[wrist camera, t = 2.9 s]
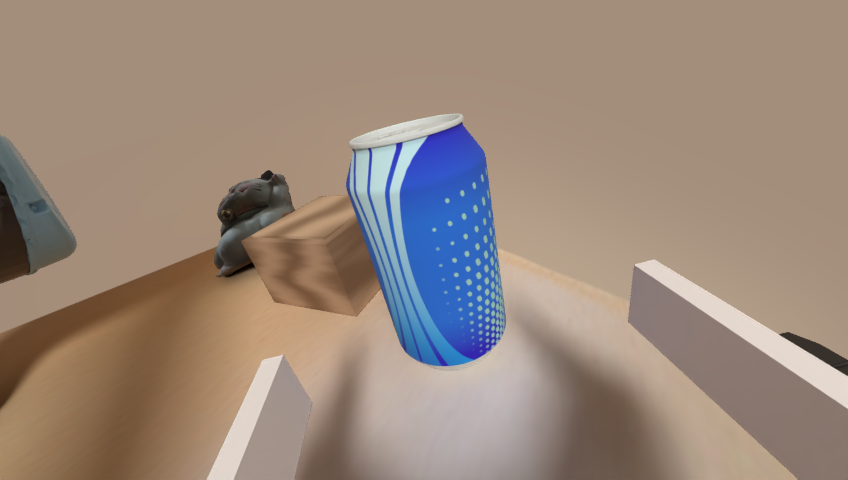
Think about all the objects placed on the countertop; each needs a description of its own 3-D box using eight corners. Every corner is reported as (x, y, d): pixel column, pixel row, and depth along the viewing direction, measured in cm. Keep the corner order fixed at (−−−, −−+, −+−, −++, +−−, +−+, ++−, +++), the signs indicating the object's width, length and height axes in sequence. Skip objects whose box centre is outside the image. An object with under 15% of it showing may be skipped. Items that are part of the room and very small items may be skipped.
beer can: (434, 293, 29) (391, 122, 22) (521, 310, 25) (501, 102, 18) (381, 358, 24) (300, 154, 16) (483, 398, 19) (430, 137, 12)
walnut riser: (274, 301, 34) (239, 239, 31) (340, 248, 44) (319, 194, 40) (356, 316, 29) (325, 241, 25) (412, 251, 38) (395, 189, 34)
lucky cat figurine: (199, 287, 42) (164, 195, 43) (269, 269, 53) (241, 197, 54) (273, 249, 37) (232, 145, 37) (333, 239, 48) (302, 159, 49)
